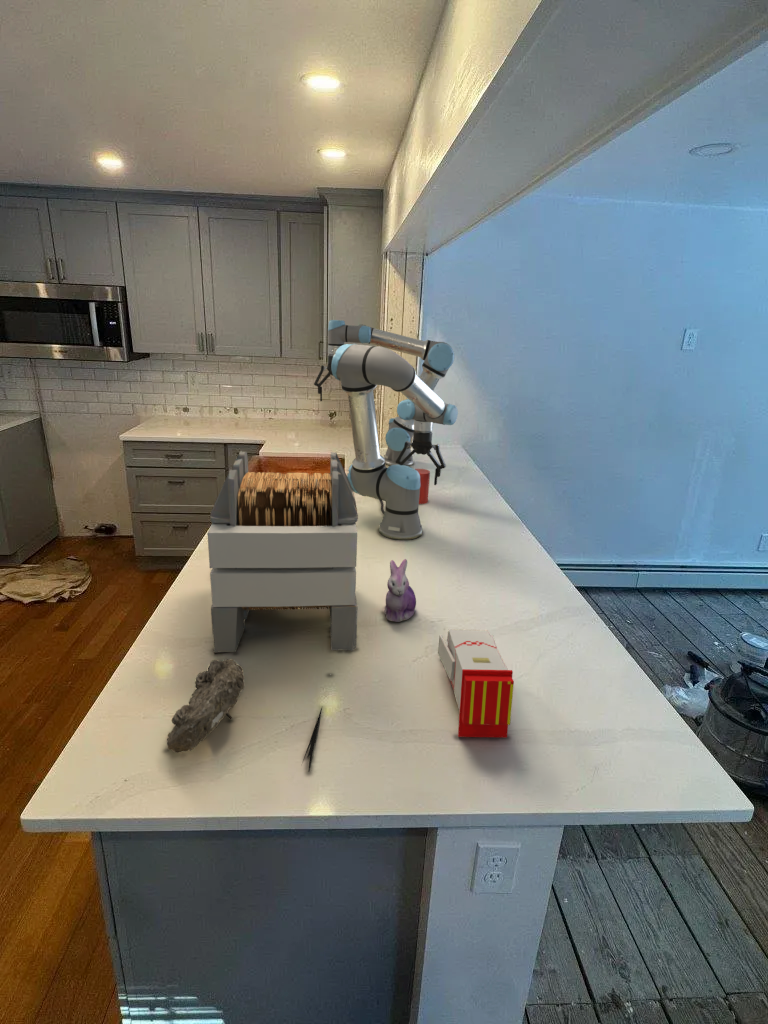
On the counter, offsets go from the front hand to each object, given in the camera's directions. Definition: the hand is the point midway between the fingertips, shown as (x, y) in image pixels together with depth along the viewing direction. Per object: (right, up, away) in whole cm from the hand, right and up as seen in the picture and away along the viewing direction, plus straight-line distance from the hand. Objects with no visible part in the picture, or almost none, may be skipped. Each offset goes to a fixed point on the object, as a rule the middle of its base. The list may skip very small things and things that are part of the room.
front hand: (419, 482), depth 232 cm
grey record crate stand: (-39, -38, -88) cm, 103 cm away
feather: (-27, -52, -123) cm, 137 cm away
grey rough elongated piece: (-47, -51, -124) cm, 142 cm away
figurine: (-10, -39, -85) cm, 94 cm away
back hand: (-38, +41, +38) cm, 67 cm away
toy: (+4, -50, -113) cm, 124 cm away
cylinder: (0, -7, +3) cm, 8 cm away
